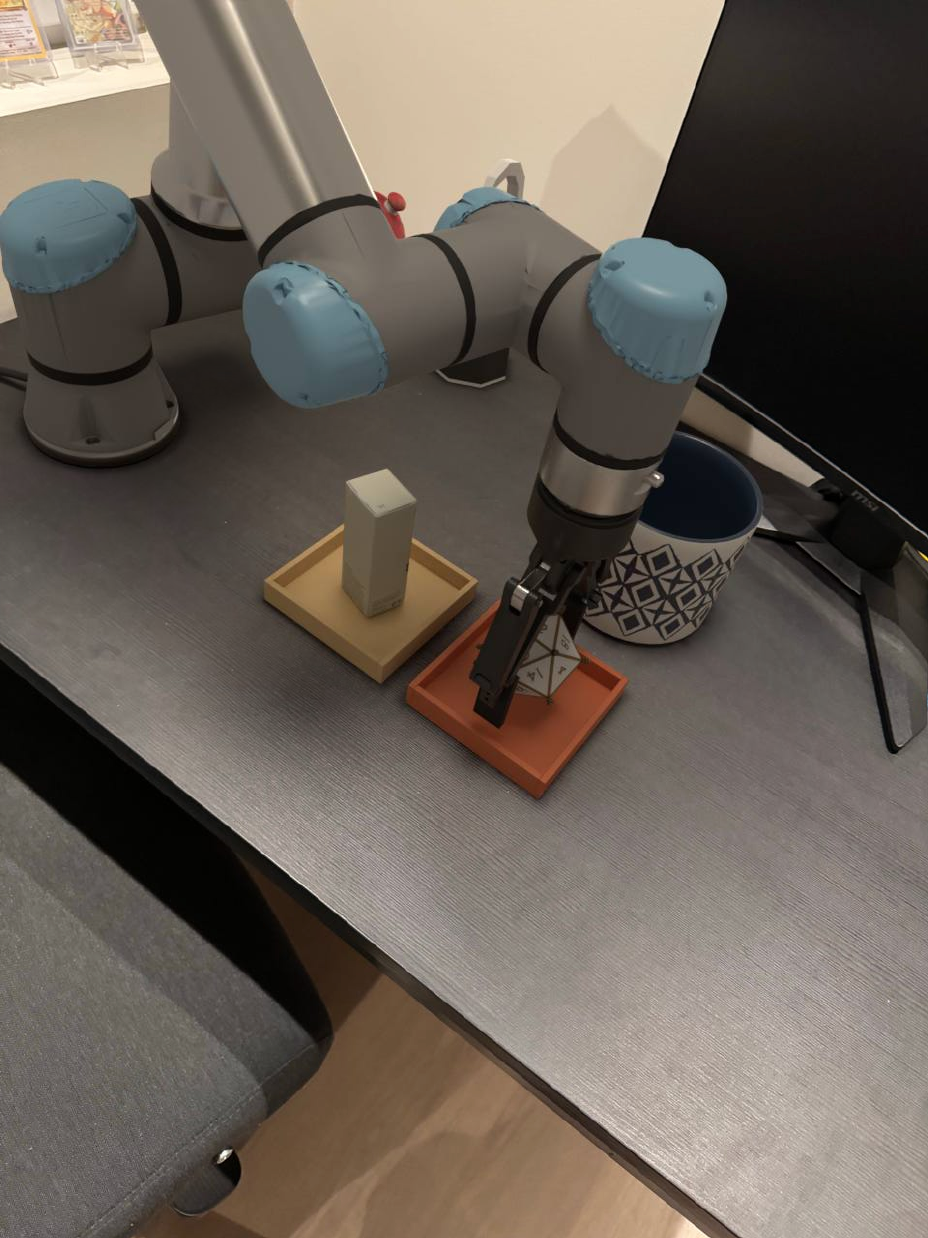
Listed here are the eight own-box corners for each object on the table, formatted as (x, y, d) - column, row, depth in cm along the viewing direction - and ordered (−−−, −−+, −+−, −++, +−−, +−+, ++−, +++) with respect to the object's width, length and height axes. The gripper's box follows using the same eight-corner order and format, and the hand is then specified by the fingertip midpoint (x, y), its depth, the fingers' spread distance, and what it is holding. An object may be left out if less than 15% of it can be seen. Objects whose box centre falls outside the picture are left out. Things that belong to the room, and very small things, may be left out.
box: (405, 604, 80) (421, 502, 70) (365, 620, 78) (377, 518, 68) (376, 567, 82) (388, 465, 73) (337, 583, 80) (343, 479, 71)
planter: (545, 530, 91) (579, 420, 80) (683, 537, 94) (734, 432, 83) (570, 645, 81) (613, 538, 70) (724, 650, 83) (788, 547, 73)
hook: (486, 398, 105) (529, 193, 86) (410, 365, 107) (436, 157, 88) (523, 359, 112) (571, 162, 93) (451, 328, 114) (484, 129, 96)
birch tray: (264, 599, 78) (263, 580, 76) (364, 525, 87) (366, 507, 85) (380, 684, 74) (383, 666, 72) (474, 598, 83) (478, 580, 81)
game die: (529, 720, 76) (579, 728, 66) (448, 678, 73) (488, 679, 64) (569, 632, 77) (623, 627, 68) (491, 588, 75) (536, 576, 66)
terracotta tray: (404, 702, 73) (408, 684, 71) (497, 613, 82) (502, 596, 80) (538, 799, 69) (545, 783, 67) (621, 696, 78) (629, 679, 76)
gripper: (549, 602, 49) (482, 791, 66) (710, 440, 62) (620, 631, 79) (448, 537, 51) (408, 736, 68) (624, 394, 64) (554, 589, 81)
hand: (522, 680), depth 73 cm, fingers closed on game die, 10 cm apart
